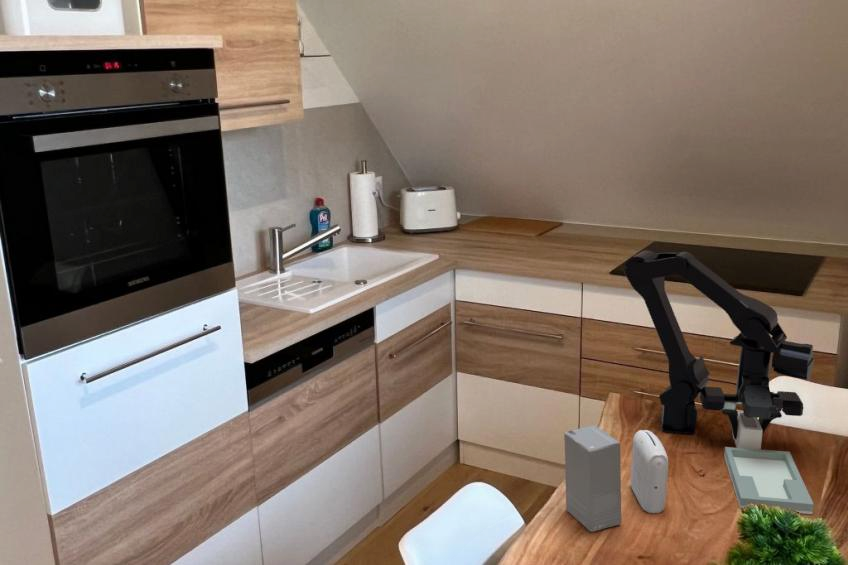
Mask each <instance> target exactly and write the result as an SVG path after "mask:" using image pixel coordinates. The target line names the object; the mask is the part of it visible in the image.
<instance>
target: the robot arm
mask: <svg viewBox="0 0 848 565" xmlns="http://www.w3.org/2000/svg"><path fill="white" fill-rule="evenodd" d="M623 272H624V275H625V277H626V279H627V280H628V283H629V284H630V285H631V288H632V289H633V290H634V291H635V292H637V294H638V295H639V296H640V297H641V298H642V299H643V302H644V304H645V306H646V309H647V311H648V313H649V316H650V318H651V322H652V323H653V326H654V329H655V331H656V333H657V335H658V338H659V341H660V343H661V345H662V349H663V350H664V353H665V355H666V358H667V361H668V380H669V384H670V385H668V387H667V388H666V389H664V391H663V392H661V393H660V394H659V400H660V404H661V406H662V408H661V409H662V410H661V417H660V418H659V419H660V425H661V426H660V427H661V431H662V432H663V433H671V434H672V433H676V434H686V435H687V434H688V435H694V434H695V428H697V420H698V408H697V405H696V402H695V400H696V399H697V398H698V397H699V399H700V402H701V406H702V409H703V410H706V411H721V413H722V414H723V415H727V417H728V419H729V423H730V428H731V430H732V434H733V436H734V439H737V416H738V412H739V411H738V410H737V408H736V407H737V405H742V412H743V413H744V415H745V416H746V417H748V418H753V417H756V418H758V421H759V423H760V425H761V428H762V430H763V432H762V436H763V435H764V433H765V432H766V429H767V428H768V427H769V425H770V424H771V422H772V421H774V420H776V419H778V418H779V419H781V418H782V416H783V415H782V413H783V414H784V415H786V416H793V417H794V416H795V417H801V416H803V414H804V403H803V401H802V399H801V398H800V396H799V394H798V393H797V392H795V391H782V390H781V391H780V390H779V391H777V392H774V391H771V389H770V379H769V378H770V369H771V368H773V372H775V373H776V374H777V375H781V376H785V377H790V378H794V379H800V380H804V381H809V380H810V378H811V377H812V373H813V368H814V365H815V364H814V363H815V357H814V351H813V350H814V349H813V348H814V345H813V344H808V343H798V342H794V341H787V339H788V337H787V334H786V333H785V331H784V330H783V328H782V327H781V325H780V323H779V318H778V313H777V311H776V310H775V309H774V308H773V307H772V306H769V305H768V304H766V303H765V302H762V301H760V300H759V299H756V298H754V297H751V296H747V295H745V294H743V293H742V292H740V291H739V290H737V289H736V288H734V287H733V285H730V284H729V283H728V282H727V281H726V280H724V279H723V278H722V277H720V276H719V275H718V274H716V273H715V272H714V271H713V270H711V269H710V268H709V267H707V266H706V265H704V264H703V263H702V262H701V261H699V260H698V259H697V258H696V257H695V256H694V254H693V253H691V252H689V251H682V252H659V253H657V252H654V251H652V250H643V251H641V252H639V253H637V254H635V255H634V256H632V257H630V258H628V260H627V261H626V262H625V264H624V266H623ZM675 275H676V276H677V275H678V276H680V277H681V278H682V279H684V281H686V282H688V283H689V284H690V285H691V286H693V287H694V288H695V289H696V290H698V291H699V292H700V293H702V294H703V295H704V296H705V297H707V298H708V299H709V300H710V301H712V302H713V303H714V304H715V305H717V306H718V307H719V308H720V309H722V310H723V311H724V312H725V313H726V314H727V316H728V317H729V319H730V320H731V322H732V324H733V325H734V327H736V329H738V331H740V332H739V333H738V335H735V336H734V337H733V339H731V340H730V341H729V344H730V345H732V346H737V347H740V349H739V352H740V353H739V360H738V368H737V380H736V388H735V394H733V393H732V394H731V393H724V391H723V389H722V387H718V386H708V384H709V380H710V379H709V376H710V375H711V373H710V372H709V370H708V369H707V367H706V363H705V359H704V357H703V356H701V357H700V356H699V357H697V358H696V357H695V356H694V355H693V353H691V352H690V350H689V347H688V344H687V342H686V340H685V336H684V335H683V332H682V330H681V326H680V324H679V322H678V320H677V317H676V315H675V312H674V310H673V306H672V304H671V302H670V299H669V297H668V295H667V292H666V290H665V286H666V284H665V281H666V280H665V277H669V276H675ZM770 367H771V368H770ZM733 436H732V437H733ZM734 439H733V440H734Z"/></svg>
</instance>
